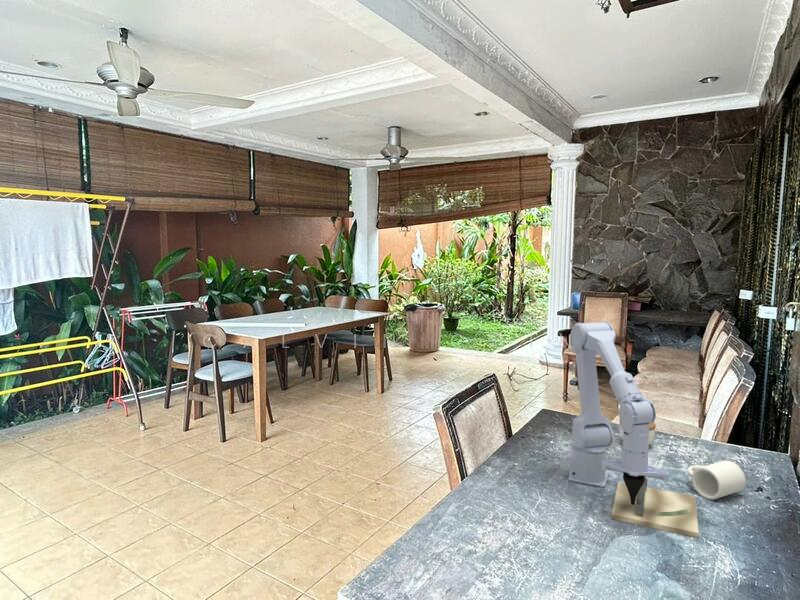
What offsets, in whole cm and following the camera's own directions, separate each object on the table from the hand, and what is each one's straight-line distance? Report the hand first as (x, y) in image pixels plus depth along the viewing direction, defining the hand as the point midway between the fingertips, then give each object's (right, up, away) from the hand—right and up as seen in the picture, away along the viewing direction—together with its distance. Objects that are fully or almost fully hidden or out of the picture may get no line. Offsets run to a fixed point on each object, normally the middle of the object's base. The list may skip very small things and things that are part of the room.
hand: (633, 503), depth 125 cm
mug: (+25, -1, +11) cm, 28 cm away
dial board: (+6, -2, +1) cm, 6 cm away
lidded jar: (+20, +2, +43) cm, 47 cm away
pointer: (+3, -1, +3) cm, 5 cm away
